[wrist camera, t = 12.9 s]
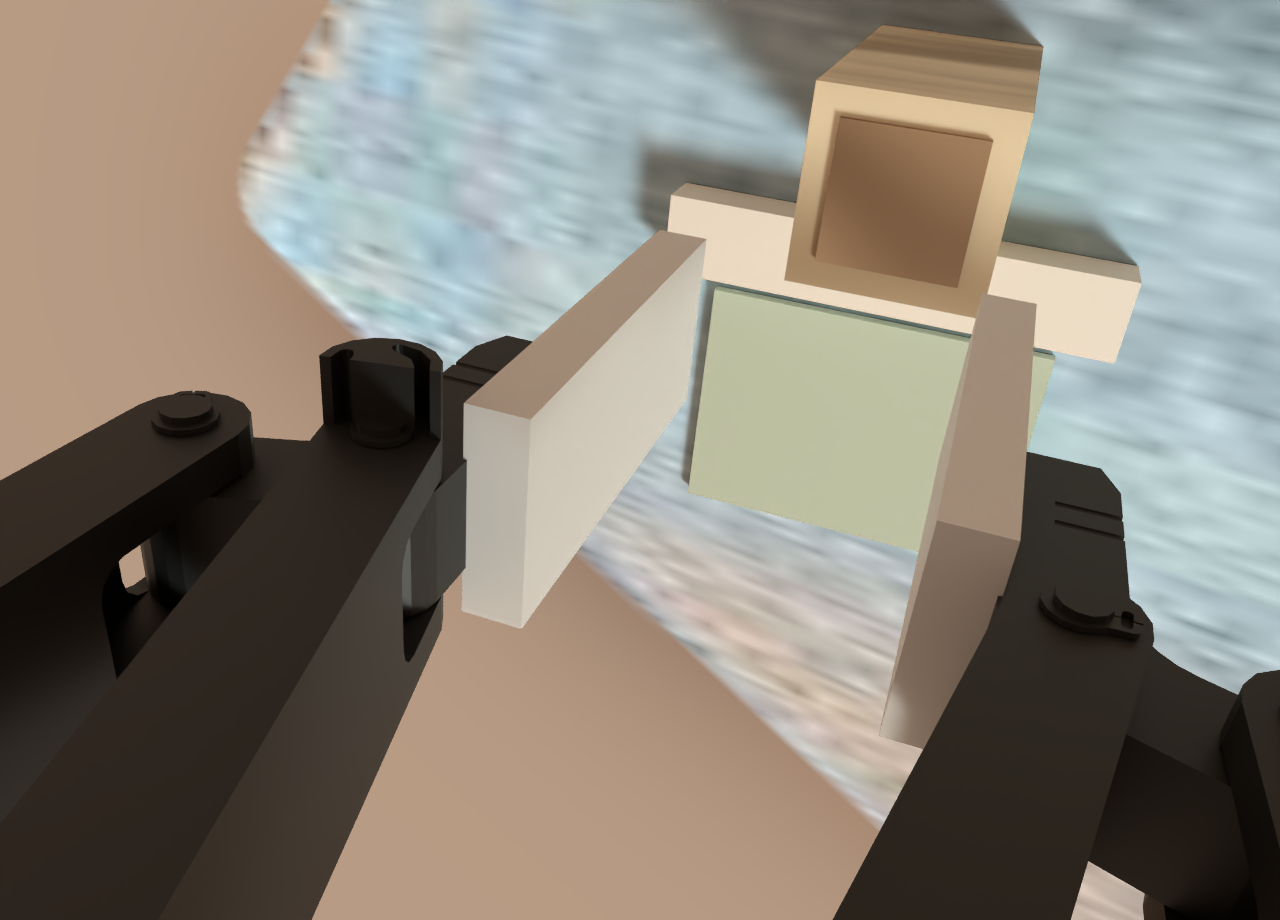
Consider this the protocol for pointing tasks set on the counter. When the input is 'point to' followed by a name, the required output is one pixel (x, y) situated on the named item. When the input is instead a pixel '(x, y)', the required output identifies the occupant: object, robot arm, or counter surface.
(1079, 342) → the bar
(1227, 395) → the counter surface
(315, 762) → the robot arm
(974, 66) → the maple block
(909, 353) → the mat
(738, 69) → the counter surface
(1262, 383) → the counter surface
